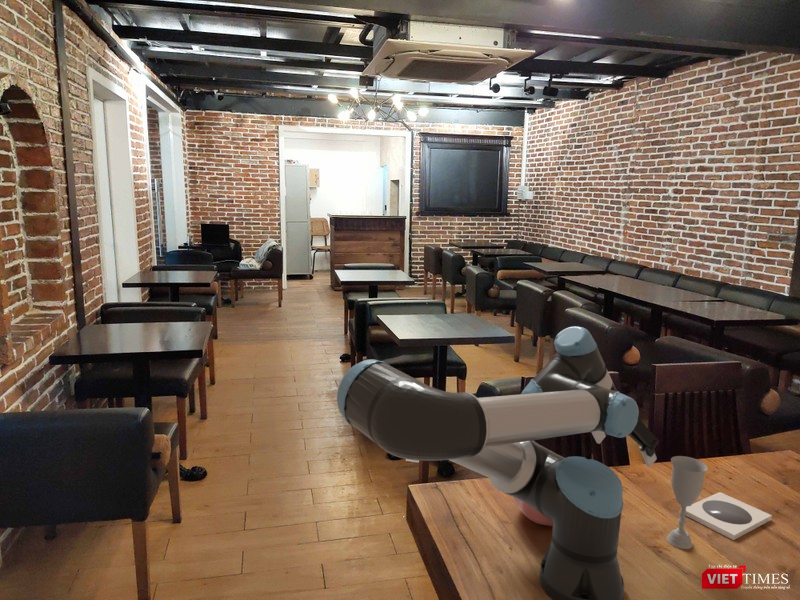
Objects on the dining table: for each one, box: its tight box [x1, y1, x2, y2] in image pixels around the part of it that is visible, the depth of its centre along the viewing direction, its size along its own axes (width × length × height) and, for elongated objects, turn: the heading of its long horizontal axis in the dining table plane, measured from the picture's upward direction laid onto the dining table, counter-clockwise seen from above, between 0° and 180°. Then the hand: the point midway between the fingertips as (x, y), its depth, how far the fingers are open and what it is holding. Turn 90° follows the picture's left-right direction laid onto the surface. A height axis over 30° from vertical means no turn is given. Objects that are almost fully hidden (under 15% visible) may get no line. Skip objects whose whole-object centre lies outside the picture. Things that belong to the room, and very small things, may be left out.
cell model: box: [513, 497, 553, 528], centre depth 126 cm, size 17×20×11 cm
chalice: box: [666, 455, 709, 550], centre depth 117 cm, size 7×7×18 cm
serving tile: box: [685, 491, 773, 541], centre depth 129 cm, size 16×12×1 cm
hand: (625, 450), depth 128 cm, fingers open, 13 cm apart
